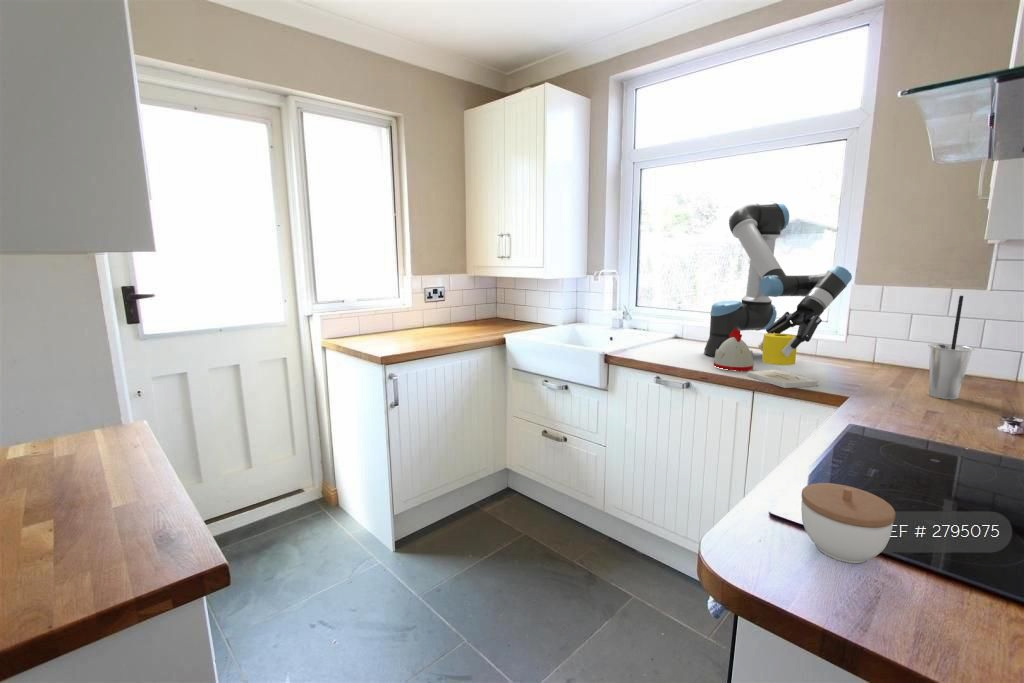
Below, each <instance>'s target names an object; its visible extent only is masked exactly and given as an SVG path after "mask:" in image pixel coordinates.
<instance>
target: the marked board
mask: <svg viewBox="0 0 1024 683" xmlns="http://www.w3.org/2000/svg"><path fill="white" fill-rule="evenodd" d="M747 377H750V378H753V379H756V380H759V381H761V382H766V383H768V384H771V385H775V386H777V387H781V388H783V389H788V388H789V389H792V388H803V387H815V386H816V385H817V386H819V380H816V379H812V378H810V377H805V376H802V375H798V374H795V373H792V372H788V371H784V370H781V369H771V370H755V371H752V370H751V371H747ZM817 386H816V387H817Z"/></svg>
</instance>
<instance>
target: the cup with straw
mask: <svg viewBox="0 0 1024 683" xmlns="http://www.w3.org/2000/svg"><path fill="white" fill-rule="evenodd" d="M963 301H964V295H959V296H958V303H957V310H956V314H955V315H956V316H955V321H954V329H953V335H952V342H951V344H947V343H946V344H945V343H931V344H930V343H929V344H928V345H927V346H928V347H929V365H928V366H929V367H928V368H929V369H928V370H929V372H928V375H929V383H928V384H929V386H928V388H929V389H928V390H929V391H928V396H930V397H932V396H934V397H933V398H935V397H937V398H936V399H939V398H942V400H947V399H951V400H950V401H953V400H955V399H956V400H958V399H959V398H958V397H959V395H960V391H961V388H962V385H963V381H964V378H965V375H966V372H967V368H968V365H969V361H970V359H971V355H972V352H973V351H975V348H974V347H970V346H964V345H958V344H957V340H958V339H957V338H958V334H959V333H958V332H959V327H960V320H961V314H962V308H963ZM956 400H955V401H956Z"/></svg>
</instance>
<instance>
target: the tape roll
mask: <svg viewBox="0 0 1024 683" xmlns="http://www.w3.org/2000/svg"><path fill="white" fill-rule="evenodd" d="M795 335H796V334H790V333H780V334H779V333H769V334H768V333H764V334H763V339H764V341H763V340H762V341H763V351H762V354H761V356H762V357H761V358H762V359H761V362H762V363H763V364H768V365H776V366H794V365H795V364H796V359H797V358H796V357H797V348H795V349H794V350H793V351H792V352H791V353H790V354H789V355H788V357H785V355H784V354H783V353H782V352H781V351H782V349H783V348H784V347H785V346H786V345H787V344H788V343H789V342H790V341H791V340H792V338H793V337H796V336H797V335H796V336H795ZM796 338H797V337H796Z"/></svg>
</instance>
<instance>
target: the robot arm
mask: <svg viewBox="0 0 1024 683" xmlns="http://www.w3.org/2000/svg"><path fill="white" fill-rule="evenodd" d="M728 219H729V220H728V226H729V229H730V230H729V231H730V232H731V234H732V236H733V237H734V238H736V239H738V240H739V242H740V244H741V246H742V247H743V249H744V251H745V252H746V254H747V256H748V258H749V260H750V261H749V269H748V276H747V284H746V285H747V286H746V293H745V294H746V295H745V296H743V297H742V298H741V301H740V300H723V301H718V302H715V303H714V304H712V306H711V309H710V322H709V323H710V324H709V337H708V339H707V342H706V344H705V347H704V351H703V354H704V353H705V355H706V354H708V355H707V356H709V355H712V356H711V357H713V356H715V353H716V349H719V347H720V346H721V344H722V343H723V342H724V341H726V340H727V339H729V334H731V331H733V329H736V330H738V331H740V332H741V331H743V332H744V331H755V332H756V331H763V330H764V331H766V332H767V333H766V334H769V333H779V334H783V332H785V331H787V330H788V329H790V328H794V327H795V326H798V330H797V333H796V334H794V335H795V336H796V337H797V338H796V337H793V338H792V340H791V341H790V342H789V343H788V344H787V345H786V346H785V347H784V348H783V349H782V351H781V352H782V353H783V354H784V355H785V357H788V355H789V354H790V353H791V352H792V351H793V350H794V349H795V348H796V349H797V348H798V347H799V345H800V344H801V343H803V342H807V343H808V342H810V341H811V339H812V337H813V336H814V334H815V331H816V329H817V328H818V326H819V325H820V324H821V323H822V322H823V320H822V318H821V317H820V316H821V315H822V314H823V313H824V312H825V310H827V308H828V307H829V306H830V304H832V303H833V301H834V300H835V299H836V298H837V297H838V296H839V295H840V294H841V293H842V292H843V291H844V290H845V289H846V288H847V286H848V285H849V283H850V282H851V281H852V279H853V276H852V273H851V272H850V271H849V270H848V269H847V268H845V267H842V266H840V265H839V266H838V265H834V266H832V267H830V268H829V270H827V271H826V273H819V274H810V275H787V274H786V273H785V271H784V270H783V268H782V267H781V265H780V263H779V261H778V260H777V259H776V256H775V246H776V240H777V239H778V238H779V237H780V236H781V232H782V231H784V230H785V229H786V228H787V226H789V222H790V213H789V209H788V207H787V206H786V205H785V204H784V203H782V202H777V201H744V202H742V203H740V204H738V205H737V206H736V207H735V208H734V209H733V210H732V212H731V214H730V216H729V218H728ZM770 297H772V298H778V297H804V298H802V299H801V301H800V302H799V303H798V305H797V306H796V310H795V311H794V312H793V313H790V312H789V311H786V312H785V313H784V314H783V315H782V316H781V317H779V319H777V316H778V315H777V310H776V306H775V305H774V303H773V304H772V302H773V300H772V299H771V298H770ZM776 319H777V320H776ZM763 341H764V338H763V339H762V341H761V342H760V343H759V344H758V345H757V347H758V348H759V350H760V351H761V352H763Z"/></svg>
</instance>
